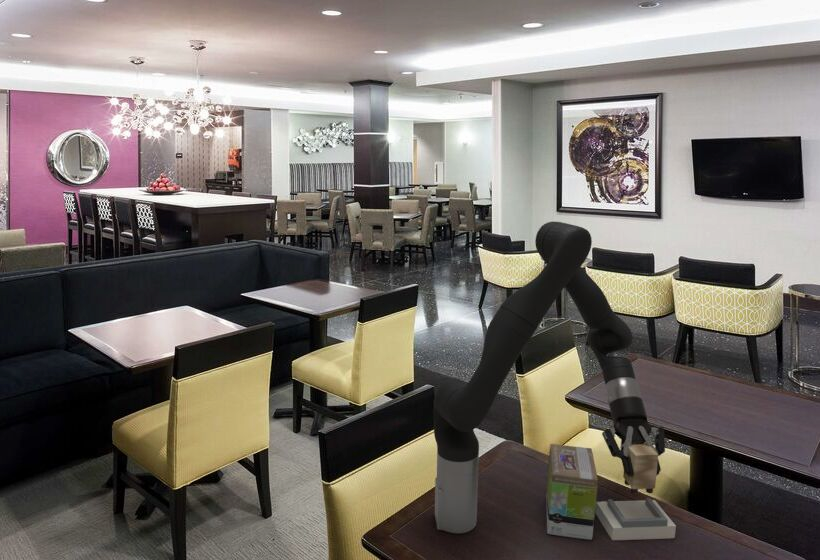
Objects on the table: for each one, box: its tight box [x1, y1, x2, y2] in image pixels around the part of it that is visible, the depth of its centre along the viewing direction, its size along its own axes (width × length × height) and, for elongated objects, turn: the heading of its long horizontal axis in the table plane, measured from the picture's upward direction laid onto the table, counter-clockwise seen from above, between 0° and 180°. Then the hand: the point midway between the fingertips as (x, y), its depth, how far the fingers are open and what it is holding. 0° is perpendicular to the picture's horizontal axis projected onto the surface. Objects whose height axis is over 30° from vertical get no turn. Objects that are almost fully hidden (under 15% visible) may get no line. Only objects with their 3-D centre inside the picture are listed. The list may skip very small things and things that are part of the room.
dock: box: [595, 497, 677, 541], centre depth 134 cm, size 14×10×4 cm
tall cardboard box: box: [622, 444, 659, 495], centre depth 131 cm, size 5×5×9 cm
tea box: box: [545, 443, 599, 541], centre depth 136 cm, size 15×10×15 cm
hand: (643, 474), depth 130 cm, fingers closed on tall cardboard box, 5 cm apart
